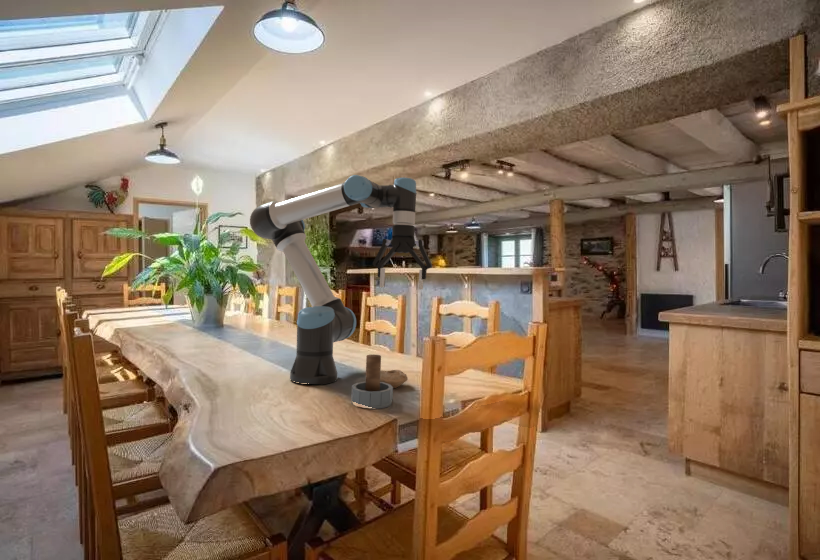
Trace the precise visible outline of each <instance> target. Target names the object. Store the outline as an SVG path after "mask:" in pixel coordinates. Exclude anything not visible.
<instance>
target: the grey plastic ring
mask: <svg viewBox="0 0 820 560" xmlns="http://www.w3.org/2000/svg"><path fill="white" fill-rule="evenodd" d="M365 383H366V381H360V382H356V383H354V384H352V385H351V397H350V399H351V402H352V401H353V402H356V403H358V404H362V405H365V406H368V407H372V408H376V409H375V410H381V409H385V408H386V409H387V408H388V407H390V406H392V403H393V395H394V393H393V392H394V388H393V387H392V386H391V385H390V384H387V383H384V382H380V391H365Z"/></svg>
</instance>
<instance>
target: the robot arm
mask: <svg viewBox="0 0 820 560" xmlns="http://www.w3.org/2000/svg"><path fill="white" fill-rule="evenodd" d="M393 181H394V182H393V184H391V185H380V184H378V183H377V182H374V181H372V180H370V179H368V178H367V177H366V176H362V175H360V174H359V175H358V174H352V175H350V176H349V177H348V178H347V179H346V180H345V181H344V182H341V183H339V184H335V185H332V186H330V187H326V188H323V189H319V190H316V191H313V192H309V193H307V194H304V195H298V196H297V197H293V198H289V199H286V200H284V201H280V202H279V201H277V200H273V201H268V202H267V203H263V204H261V205H258V206H257V207H255V208H254V209H253V210H252V212H251V213H250V217H249V225H250V228H251V230H252V232H254V233H255V235H257V236H258V237H259V238H262V239H266V240H272V242H273V245H274V247H275V249H276V250H277V251H280V252H282V253H283V254H284V256H285V258H286V259H287V262H288V264H289V266H290V267H291V269H292V272H293V273H294V275H295V277H296V279H297V281H298V283H299V285H301V289H302V290H303V292H304V294H305V296H306V297H307V299H308V301H309V303H310V305H311V306H307V307H305V308H302V309H300V310H299V312H298V315H297V320H296V352H295V353H296V355H295V359H294V361H293V363H292V367H291V370H290V373H289V380H290V379H291V380H292V381H295V382H299V383H307V384H308V383H309V384H321V385H328V384H331V383H334V382H336V381H337V380H338V369H337V366H336V363H335V360H334V355H333V353H334V343H336V342H342V341H345V340H346V339H348V338H350V337H351V336H353V334H354V332H355V331H356V327H357V318H356V314H355V313H354V312H353V310H352V309H350V308H348V307H346V306H345V305H344V303H343V301H342V299H341V298H340V297H338V296H335V295H334V293H333V291H332V289H331V288H330V286H329V284H328V282H327V280H326V279H325V276H324V275H323V274H322V272H321V270H320V268H319V266H318V264H317V262H316V260H315V258H314V256H313V255H312V253H311V251H310V249H309V247H308V245H307V243H306V242H305V241H306V238H307V235H306V232H305V229H306V224H305V220H307V219H310V218H314V217H317V216H319V215H323V214H326V213H331V212H333V211H337V210H340V209H343V208H347V207H350V206H351V207H352V206H354V205H359V204H360V205H361V207H362V208H368V209H380V208H381V209H382V208H386V209H387V208H390V209H391V208H392V209H393V210H392V224H393V225H392V229H391V233H392V234H391V239H387V238H383V239H382V241H381V242H382V243H381V246H380V248H379V251H378V252H377V255H376V257H374V260H373V262H372V266H374V267H376V268H377V277H378V278H379V288H385V283H386V280H385V279H386V268H384V266H385V265H386V264H387V263H388V262H389V261H390V259H392V257H393V256H394V255H395V254H396V253H399V254H402V253H403V254H410V255H411V256H412V257H413V259H414V260H415V261H416V263H417V264H418V265H419V267H420V268H421V269H419V275H418V290H423V289H424V280H426V279H427V270H429V269H432V268H433V264H432V262H431V259H430V257H429V256H428V253H427V251H426V248H425V241H424V240H422V239H418V240H416V239H415V234H416V232H415V231H416V230H415V229H416V227H415V226H414V225H415V224H416V207H417V206H416V205H417V200H416V199H417V182H416V180H415V179H414V178H410V177H396V178H395V179H394V180H393ZM390 245H391V246H392V247H391V249H389V252H388V253H386V255H385V256H384V254H385V252H386V250H387V248H388V246H390ZM415 246H417V247H418V249H419V251H420V254H421V255H422V256H421V257H422V258H423V260H424V261H423V260H422V258H421V257H420V255H418V253H417V252H416V251H415V249H414V247H415ZM383 256H384V257H383Z"/></svg>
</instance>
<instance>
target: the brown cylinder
mask: <svg viewBox="0 0 820 560" xmlns="http://www.w3.org/2000/svg"><path fill="white" fill-rule="evenodd" d="M381 362H382V355H381V354H367V355H366V361H365V364H366V365H365V382H366V383H365V391H380V372H381V370H382V368H381V367H382V363H381Z"/></svg>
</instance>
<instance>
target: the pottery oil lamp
mask: <svg viewBox="0 0 820 560" xmlns="http://www.w3.org/2000/svg"><path fill="white" fill-rule="evenodd" d="M407 381H408V375H407V373H405V372H403V371H402V370H401V369H392V370H383V369H381V372H380V382H384V383H387V384H390V385H391V386H392V387H393V389H396V388H398V387H400V386H401V385H404V383H406V382H407Z"/></svg>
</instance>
